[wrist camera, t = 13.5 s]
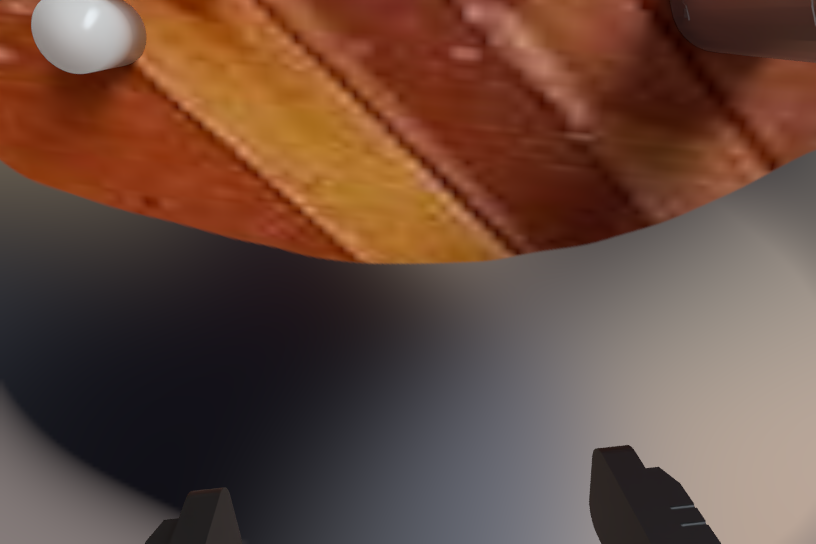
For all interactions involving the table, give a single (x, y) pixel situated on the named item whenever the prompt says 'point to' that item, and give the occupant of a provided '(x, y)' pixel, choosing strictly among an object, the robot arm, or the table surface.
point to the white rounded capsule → (88, 34)
